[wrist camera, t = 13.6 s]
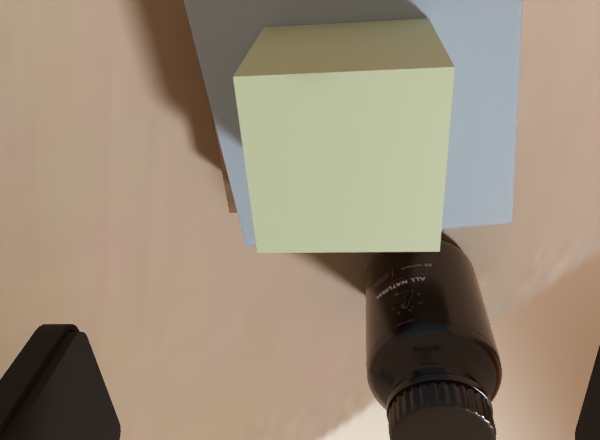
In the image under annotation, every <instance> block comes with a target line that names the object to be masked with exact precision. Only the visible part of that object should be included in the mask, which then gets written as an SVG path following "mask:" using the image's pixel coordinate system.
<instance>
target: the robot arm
mask: <svg viewBox="0 0 600 440" xmlns="http://www.w3.org/2000/svg"><path fill="white" fill-rule="evenodd" d="M120 432H121V430H120V423H119V420H118V418H117V415H116V412H115V410H114V407H113V404H112V402H111V399H110V396H109V394H108V391H107V388H106V386H105V383H104V380H103V378H102V375H101V372H100V370H99V367H98V364H97V362H96V359H95V356H94V354H93V351H92V348H91V346H90V343H89V340H88V338H87V336H86V334H85V333H84V332H79V330H78V328H77V327H76V326H75V325H73V324H44V325H41V326H40V327H39V328H38V329H37V330H36V331H35V332H34V334H33V335H32V336H31V338H30V339H29V341H28V342H27V343H26V345H25V346H24V348H23V349H22V350H21V352H20V353H19V355H18V356H17V357H16V359H15V360H14V362H13V363H12V364H11V366H10V367H9V369H8V370H7V371H6V373H5V374H4V376H3V377H2V378H1V380H0V440H119V439H120ZM575 440H600V346H599V350H598V353H597V357H596V360H595V364H594V367H593V371H592V374H591V378H590V381H589V385H588V388H587V392H586V395H585V399H584V403H583V406H582V409H581V413H580V417H579V420H578V423H577V427H576V432H575Z"/></svg>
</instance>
